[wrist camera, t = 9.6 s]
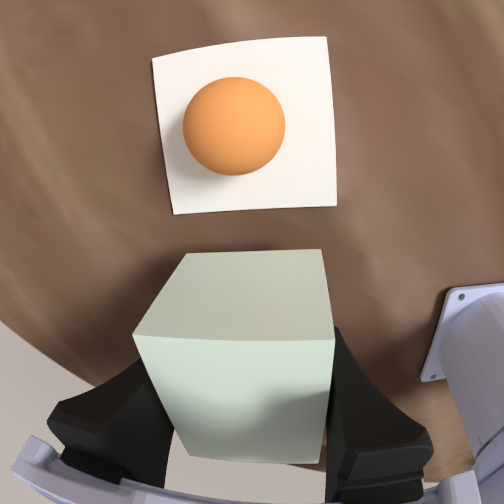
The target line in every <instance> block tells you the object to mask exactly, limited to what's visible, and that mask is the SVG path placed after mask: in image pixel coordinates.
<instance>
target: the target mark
mask: <svg viewBox="0 0 504 504" xmlns="http://www.w3.org/2000/svg"><path fill="white" fill-rule="evenodd" d="M152 62H153V73H154V83H155V92H156V100H157V109H158V117H159V124H160V132H161V139H162V146H163V153H164V159H165V166H166V172H167V178H168V184H169V190H170V196H171V202H172V207H173V213H174V214H187V213H200V212H215V211H230V210H247V209H267V208H288V207H315V206H337V194H336V153H335V131H334V114H333V100H332V88H331V76H330V66H329V57H328V48H327V40H326V37H290V38H274V39H262V40H251V41H243V42H235V43H227V44H221V45H214V46H208V47H203V48H197V49H192V50H187V51H182V52H178V53H173V54H169V55H165V56H161V57H157V58H153V59H152ZM227 77H243V78H248V79H251V80H254V81H256V82H258V83H260V84H262V85H264V86H265V87H266V88H268V89H269V90H270V91H271V92H272V93H273V94H274V95H275V97H276V98H277V99H278V101H279V103H280V105H281V107H282V109H283V112H284V117H285V135H284V139H283V142H282V145H281V147H280V149H279V151H278V152H277V154H276V155H275V156H274V158H273V159H272V160H271V161H270V162H269V163H267V164H266V165H265V166H263V167H262V168H260V169H259V170H256V171H254V172H252V173H249V174H245V175H238V176H229V175H223V174H218V173H215V172H213V171H211V170H209V169H207V168H205V167H204V166H202V165H201V164H200V163H199V162H198V161H197V160H196V159H195V158H194V157H193V156H192V155H191V153H190V151H189V150H188V148H187V146H186V143H185V140H184V136H183V118H184V114H185V111H186V108H187V106H188V104H189V102H190V101H191V99H192V98H193V96H194V95H195V94H196V93H197V92H198V91H199V90H200V89H201V88H203V87H204V86H205V85H207V84H209V83H211V82H213V81H215V80H218V79H222V78H227Z"/></svg>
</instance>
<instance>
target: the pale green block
mask: <svg viewBox="0 0 504 504" xmlns="http://www.w3.org/2000/svg"><path fill="white" fill-rule="evenodd" d="M132 336H133V338H134V341H135V343H136V346H137V348H138V351H139V353H140V355H141V358H142V360H143V363H144V365H145V367H146V370H147V372H148V374H149V376H150V379H151V381H152V383H153V385H154V387H155V390H156V392H157V394H158V396H159V398H160V400H161V402H162V404H163V406H164V408H165V410H166V412H167V414H168V416H169V418H170V420H171V422H172V424H173V426H174V428H175V430H176V432H177V434H178V436H179V437H180V439H181V441H182V443H183V445H184V447H185V448H186V450H187V452H188V454H189V455H190V456H196V457H203V458H211V459H219V460H230V461H240V462H255V463H278V464H309V463H318V462H319V457H320V451H321V445H322V439H323V433H324V427H325V421H326V414H327V407H328V400H329V392H330V384H331V376H332V367H333V357H334V347H335V334H334V327H333V320H332V313H331V306H330V300H329V293H328V287H327V281H326V275H325V269H324V264H323V258H322V252H321V249H308V250H278V251H247V252H217V253H187V254H186V255H185V256H184V258H183V259H182V261H181V262H180V264H179V265H178V266H177V268H176V269H175V271H174V272H173V274H172V275H171V277H170V278H169V280H168V281H167V282H166V284H165V285H164V287H163V288H162V290H161V291H160V293H159V294H158V296H157V297H156V299H155V300H154V302H153V303H152V305H151V306H150V308H149V309H148V311H147V312H146V314H145V315H144V317H143V318H142V320H141V322H140V323H139V325H138V326H137V328H136V329H135V331H134V332H133V334H132Z"/></svg>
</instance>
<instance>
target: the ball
mask: <svg viewBox="0 0 504 504" xmlns="http://www.w3.org/2000/svg"><path fill="white" fill-rule="evenodd" d="M284 135H285V117H284V112H283V109H282V107H281V105H280V103H279V101H278V99H277V98H276V97H275V95H274V94H273V93H272V92H271V91H270V90H269V89H268V88H266V87H265V86H264V85H262V84H260V83H258V82H256V81H254V80H251V79H248V78H243V77H227V78H222V79H218V80H215V81H213V82H211V83H209V84H207V85H205V86H204V87H203V88H201V89H200V90H199V91H198V92H197V93H196V94H195V95H194V96H193V98H192V99H191V101H190V102H189V104H188V106H187V108H186V111H185V114H184V118H183V136H184V140H185V143H186V146H187V148H188V150H189V151H190V153H191V155H192V156H193V157H194V158H195V159H196V160H197V161H198V162H199V163H200V164H201V165H202V166H204V167H205V168H207V169H209V170H211V171H213V172H215V173H218V174H223V175H229V176H238V175H245V174H249V173H252V172H254V171H256V170H259V169H260V168H262V167H263V166H265V165H266V164H267V163H269V162H270V161H271V160H272V159H273V158H274V156H275V155H276V154H277V152H278V151H279V149H280V147H281V145H282V142H283V139H284Z"/></svg>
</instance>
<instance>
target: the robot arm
mask: <svg viewBox="0 0 504 504" xmlns="http://www.w3.org/2000/svg"><path fill="white" fill-rule="evenodd" d="M460 294H462V295H461V296H460V297H459V295H460ZM334 334H335V347H334V357H333V367H332V376H331V384H330V392H329V400H328V407H327V414H326V427H327V463H326V489H325V503H323V504H504V283H496V284H487V285H477V286H467V287H457V288H452V289H450V290H449V291H448V292H447V294H446V297H445V301H444V305H443V309H442V312H441V316H440V319H439V323H438V326H437V329H436V332H435V335H434V339H433V342H432V345H431V348H430V350H429V353H428V356H427V359H426V362H425V364H424V367H423V370H422V372H421V375H420V378H421V381H422V382H428V381H434V380H440V379H445V378H446V380H447V382H448V385H449V387H450V390H451V393H452V395H453V398H454V400H455V403H456V406H457V408H458V411H459V414H460V417H461V420H462V423H463V425H464V428H465V431H466V434H467V438H468V441H469V444H470V447H471V450H472V454H473V457H474V460H475V464H474V466H473V467H472V468H470V469H469V470H468V471H466V472H463V473H460V474H456V475H453V476H450V477H447V478H445V479H443V480H442V481H441V482H440V483H439V484H438V485H437V486H436V487H432V488H428V489H423V485H422V478H423V477H424V473H423V467H424V466H425V465H426V463H427V462H428V461H429V460H430V458H431V457H432V455H433V453H434V449H433V445H432V441H431V439H430V436H429V434H428V432H427V430H426V428H425V427H423V426H422V425H420V424H419V423H417V422H416V421H414V420H413V419H411V418H410V417H408V416H407V415H406V414H404V413H403V412H402V411H401V410H399V409H398V408H397V407H396V406H395V405H394V404H393V403H392V402H391V401H389V400H388V399H387V398H386V397H385V396H384V395H383V394H382V393H381V392H380V391H379V390H378V389H377V387H376V386H375V385H374V384H373V383H372V382H371V380H370V379H369V378H368V377H367V375H366V374H365V373H364V371H363V370H362V369H361V367H360V366H359V364H358V363H357V361H356V360H355V358H354V357H353V355H352V353H351V352H350V350H349V348H348V347H347V345H346V343H345V341H344V339H343V337H342V335H341V333H340V331H339V328H338V327H334ZM47 425H48V426H49V429H50V430H51V431H52V433H53V434H54V435H55V436H56V437H57V438H58V439H59V440H60V441H61V442H62V443H63V444H64V446H65V449H64V450H63V452H62V454H59V453H57V452H56V450H55V449H54V448H53V447H52V446H51V445H49V444H48V443H46V442H45V441H42V440H41V439H39V438H37V437H35V436H32V435H31V436H30V437H29V439H28V441H27V442H26V444H25V446H24V447H23V449H22V451H21V452H20V454H19V456H18V458H17V459H16V461H15V463H14V465H13V466H12V468H11V471H12V473H14V474H15V475H16V476H17V477H19V478H20V479H21V480H22V481H23V482H25V483H26V484H27V485H29V486H30V487H31V488H33V489H34V490H35V491H37V492H38V493H39V494H41V495H43V496H45V497H46V498H48V499H50V500H51V501H53V502H55V503H57V504H267V503H252V502H241V501H231V500H223V499H214V498H209V497H202V496H196V495H191V494H185V493H180V492H175V491H171V490H166V489H164V484H165V476H166V469H167V463H168V456H169V451H170V445H171V441H172V437H173V432H174V426H173V424H172V422H171V420H170V418H169V416H168V414H167V412H166V410H165V408H164V406H163V404H162V402H161V400H160V398H159V396H158V394H157V392H156V390H155V387H154V385H153V383H152V381H151V379H150V376H149V374H148V372H147V370H146V367H145V365H144V363H143V360H142V358H139V359H138V360H137V361H136V362H135V363H133V364H132V365H131V366H130V367H128V368H127V369H126V370H124V371H123V372H121V373H120V374H118V375H117V376H115V377H114V378H112V379H110V380H108V381H107V382H105V383H103V384H101V385H100V386H98V387H96V388H94V389H92V390H89V391H87V392H85V393H83V394H80V395H78V396H75V397H72V398H69V399H66V400H63V401H59V402H58V404H57V405H56V407H55V409H54V410H53V412H52V413H51V415H50V416H49V418H48V420H47ZM268 504H269V503H268Z"/></svg>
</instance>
